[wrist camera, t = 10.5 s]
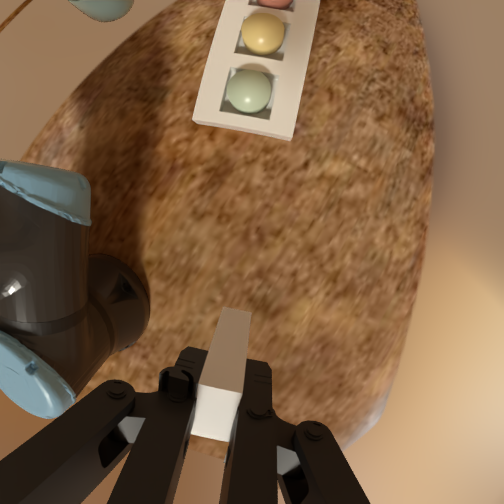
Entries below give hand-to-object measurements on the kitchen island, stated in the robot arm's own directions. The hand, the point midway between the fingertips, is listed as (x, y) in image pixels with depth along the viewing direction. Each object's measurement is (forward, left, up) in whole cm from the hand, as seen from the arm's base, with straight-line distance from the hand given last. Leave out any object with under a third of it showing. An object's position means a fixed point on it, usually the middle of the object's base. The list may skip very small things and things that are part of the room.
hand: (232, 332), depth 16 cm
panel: (-4, +26, -24) cm, 36 cm away
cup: (-28, +32, -25) cm, 49 cm away
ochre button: (-4, +26, -22) cm, 34 cm away
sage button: (-4, +18, -23) cm, 29 cm away
